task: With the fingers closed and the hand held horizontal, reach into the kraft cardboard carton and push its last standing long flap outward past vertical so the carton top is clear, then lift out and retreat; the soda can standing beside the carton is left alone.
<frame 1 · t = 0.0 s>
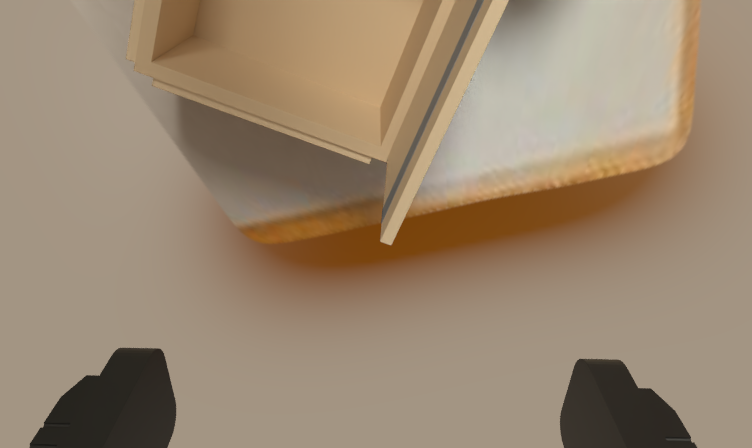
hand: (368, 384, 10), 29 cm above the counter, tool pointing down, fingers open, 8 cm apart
flap: (459, 38, 23), point 13 cm above the counter, hinge at -3.0°
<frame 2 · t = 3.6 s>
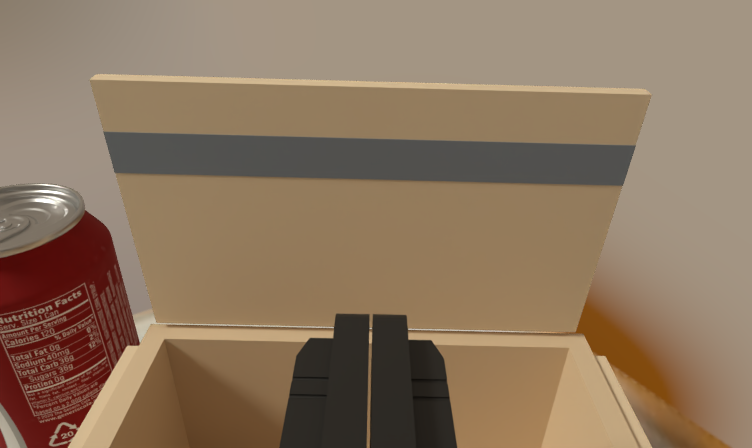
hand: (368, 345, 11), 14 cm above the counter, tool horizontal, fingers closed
flap: (369, 220, 18), point 13 cm above the counter, hinge at -3.0°
soda can: (84, 431, 26), on the counter
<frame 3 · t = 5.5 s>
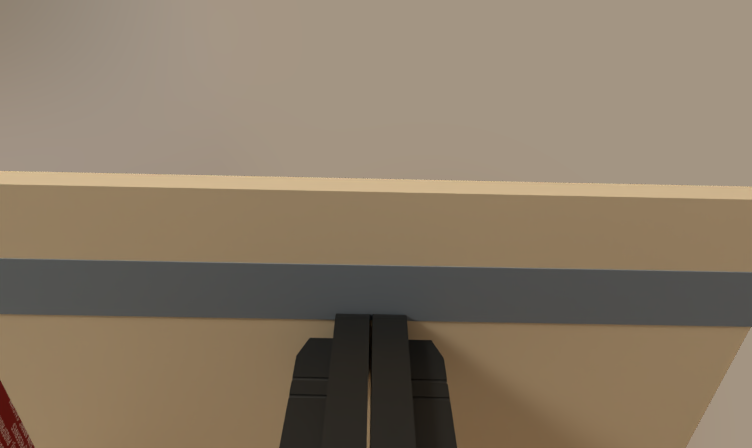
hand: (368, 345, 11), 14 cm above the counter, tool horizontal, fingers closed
flap: (362, 369, 12), point 13 cm above the counter, hinge at -1.8°, touching gripper
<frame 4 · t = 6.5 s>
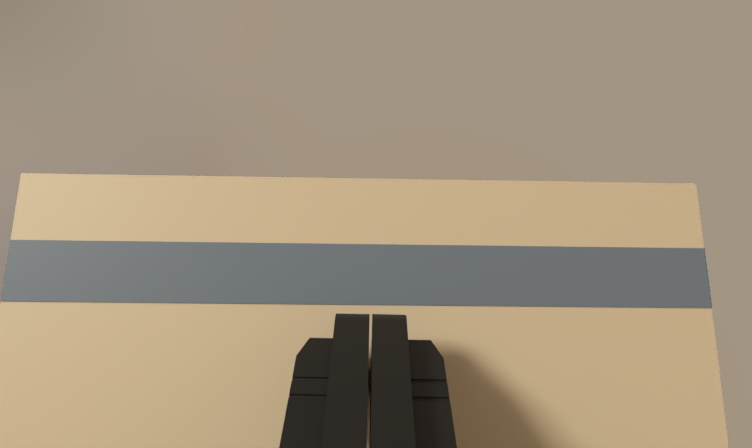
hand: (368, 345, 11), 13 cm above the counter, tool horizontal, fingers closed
flap: (360, 383, 12), point 12 cm above the counter, hinge at 44.8°, touching gripper
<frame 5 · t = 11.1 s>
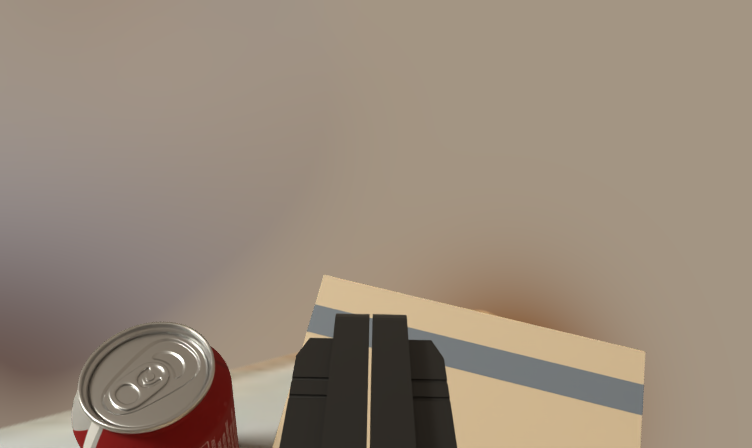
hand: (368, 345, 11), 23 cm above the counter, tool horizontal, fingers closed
flap: (461, 410, 25), point 10 cm above the counter, hinge at 61.5°
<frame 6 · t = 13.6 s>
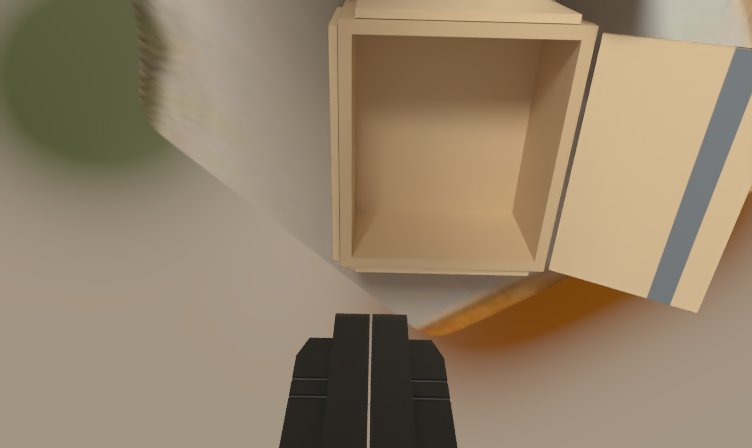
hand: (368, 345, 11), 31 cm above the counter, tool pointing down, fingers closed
carton: (440, 120, 41), on the counter
flap: (653, 181, 32), point 10 cm above the counter, hinge at 61.5°
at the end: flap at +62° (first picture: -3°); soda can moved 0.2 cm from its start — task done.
